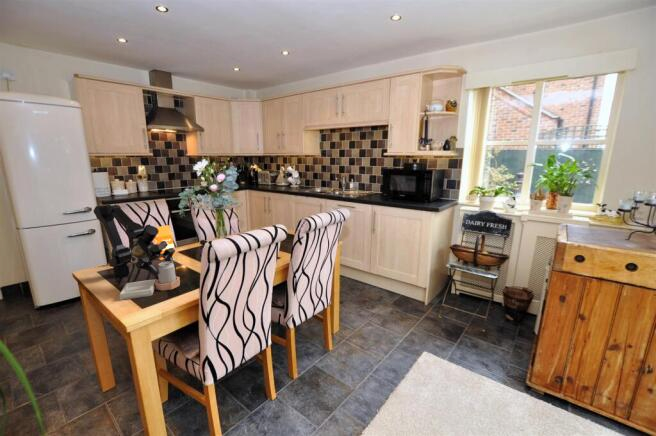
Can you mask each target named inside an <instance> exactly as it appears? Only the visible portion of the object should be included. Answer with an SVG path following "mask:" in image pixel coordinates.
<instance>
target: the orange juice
mask: <svg viewBox="0 0 656 436" xmlns="http://www.w3.org/2000/svg"><path fill="white" fill-rule="evenodd" d="M155 227H156V228H158V230H159V233H158V234H157V236H156V237H155V239H154V240H153V244H160V242H162V241H166V242H167V244H168V246H166V249H169V248H173V249H174V250H175V246H174V238H173V232H172V231H171V228H170V226H169V224H168V225H162V226H155ZM166 249H163V251H162V252H161V254H162V253H164V251H165V250H166ZM173 256H174V257H175V252H174V254H173ZM158 260H160V261H162V260H165V259H164V258H163V257H162V258H159V259H158Z"/></svg>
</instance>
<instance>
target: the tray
mask: <svg viewBox="0 0 656 436" xmlns="http://www.w3.org/2000/svg"><path fill="white" fill-rule="evenodd" d="M156 280H157V279H155V278H154V279H146V280H141V281H134V282H133V281H132V282H126V284H125V285H124V287H123V288H122V290H121V292H120V293H119V299H120V301H125V300H132V299H138V298H146V297H152V296H153V294H154V292H155V291H156V286H155V282H156Z"/></svg>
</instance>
